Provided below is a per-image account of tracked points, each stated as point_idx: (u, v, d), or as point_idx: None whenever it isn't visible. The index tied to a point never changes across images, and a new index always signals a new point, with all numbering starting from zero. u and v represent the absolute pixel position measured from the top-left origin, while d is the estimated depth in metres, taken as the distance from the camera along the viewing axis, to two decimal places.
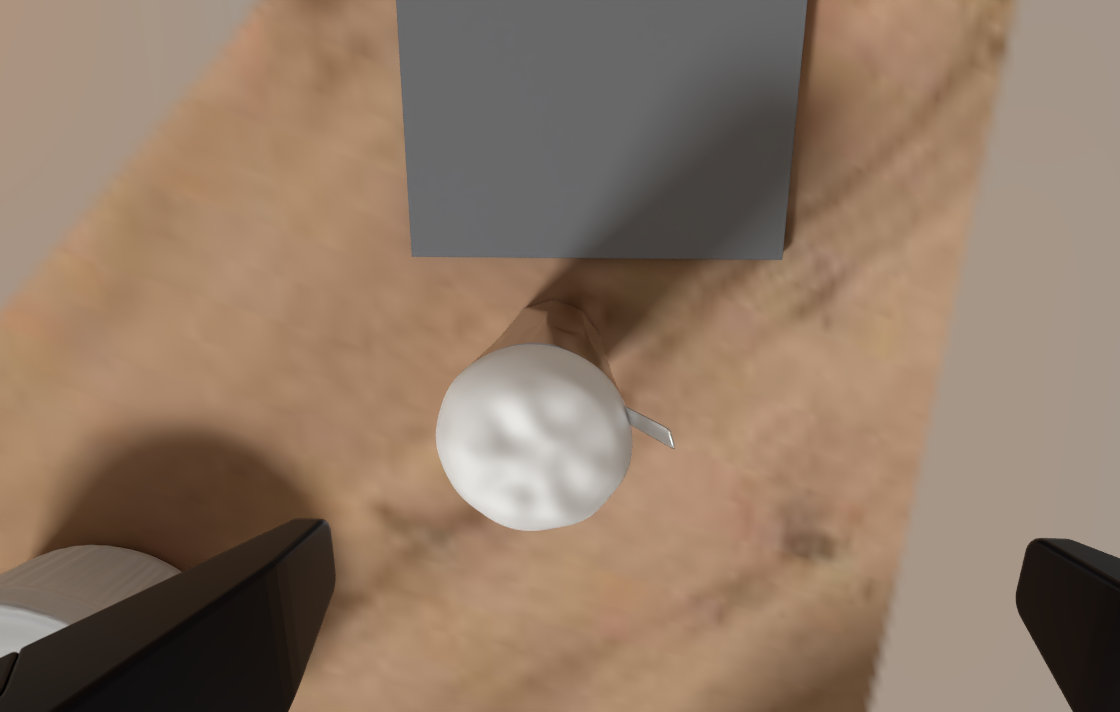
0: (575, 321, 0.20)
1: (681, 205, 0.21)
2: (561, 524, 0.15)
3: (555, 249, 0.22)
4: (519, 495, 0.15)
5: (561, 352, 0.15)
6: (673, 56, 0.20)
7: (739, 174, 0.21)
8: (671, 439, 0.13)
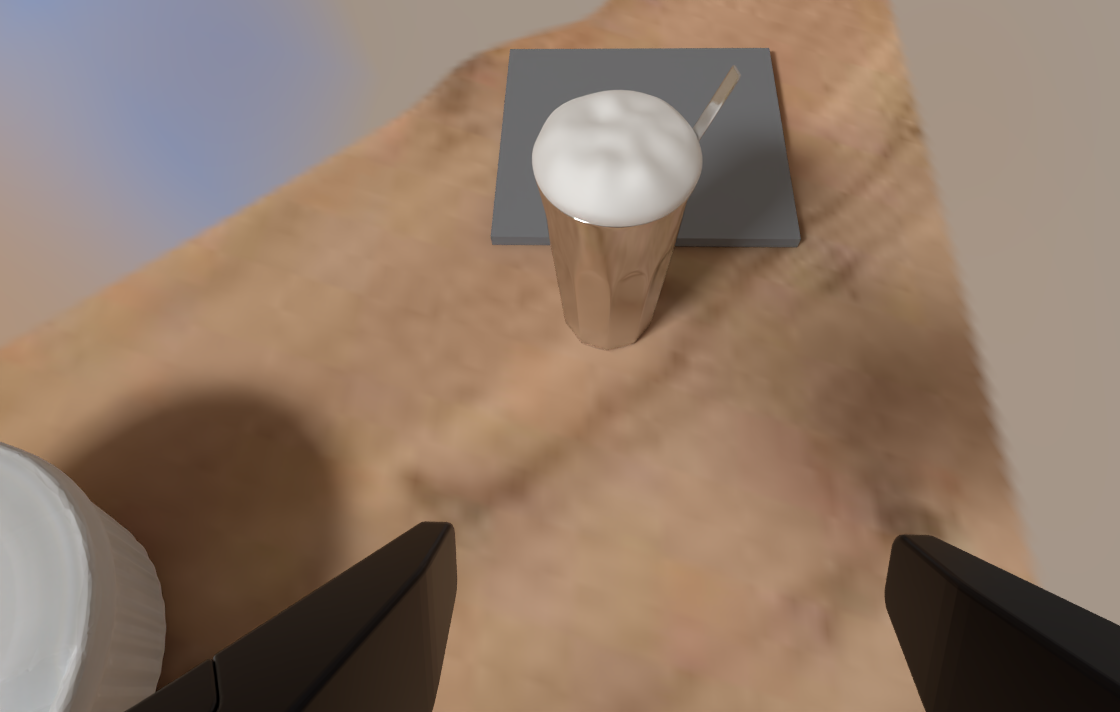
0: None
1: (710, 205, 0.27)
2: (645, 186, 0.17)
3: None
4: (608, 154, 0.17)
5: None
6: (693, 126, 0.29)
7: (752, 186, 0.27)
8: (736, 70, 0.17)
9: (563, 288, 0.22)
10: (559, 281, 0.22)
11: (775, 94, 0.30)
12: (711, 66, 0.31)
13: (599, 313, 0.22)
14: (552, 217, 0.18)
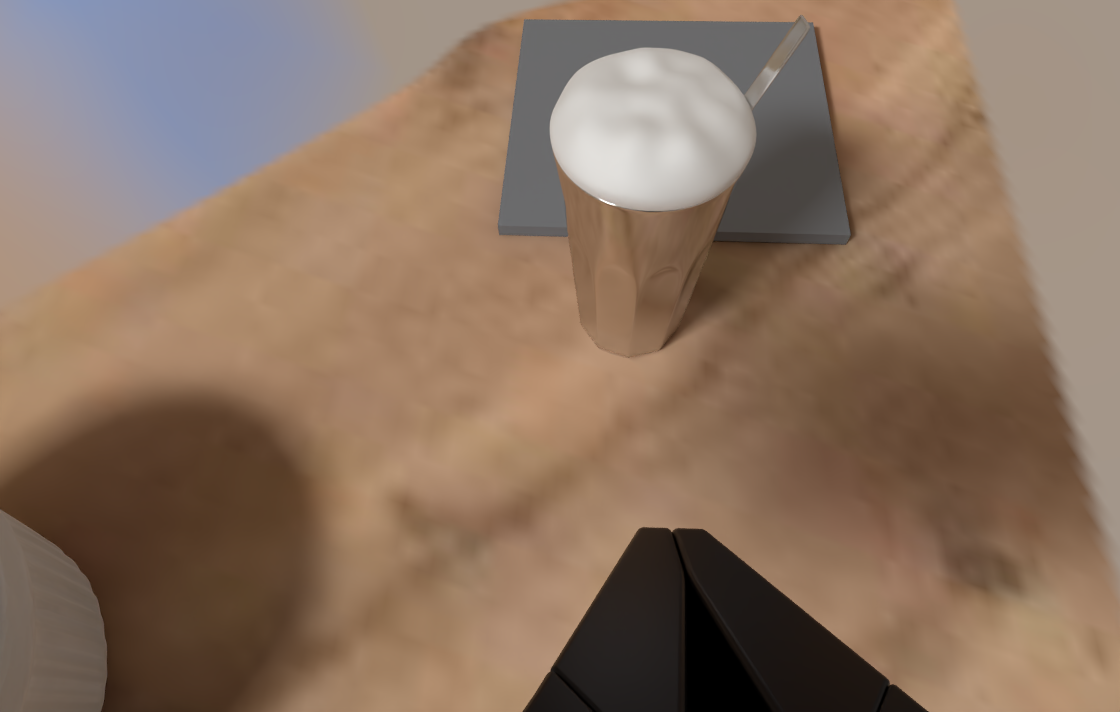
0: None
1: (747, 194, 0.24)
2: (689, 162, 0.13)
3: None
4: (644, 121, 0.14)
5: None
6: None
7: (795, 175, 0.24)
8: (805, 21, 0.14)
9: (580, 285, 0.19)
10: (576, 277, 0.19)
11: (820, 73, 0.26)
12: (748, 41, 0.27)
13: (621, 315, 0.19)
14: (572, 199, 0.15)
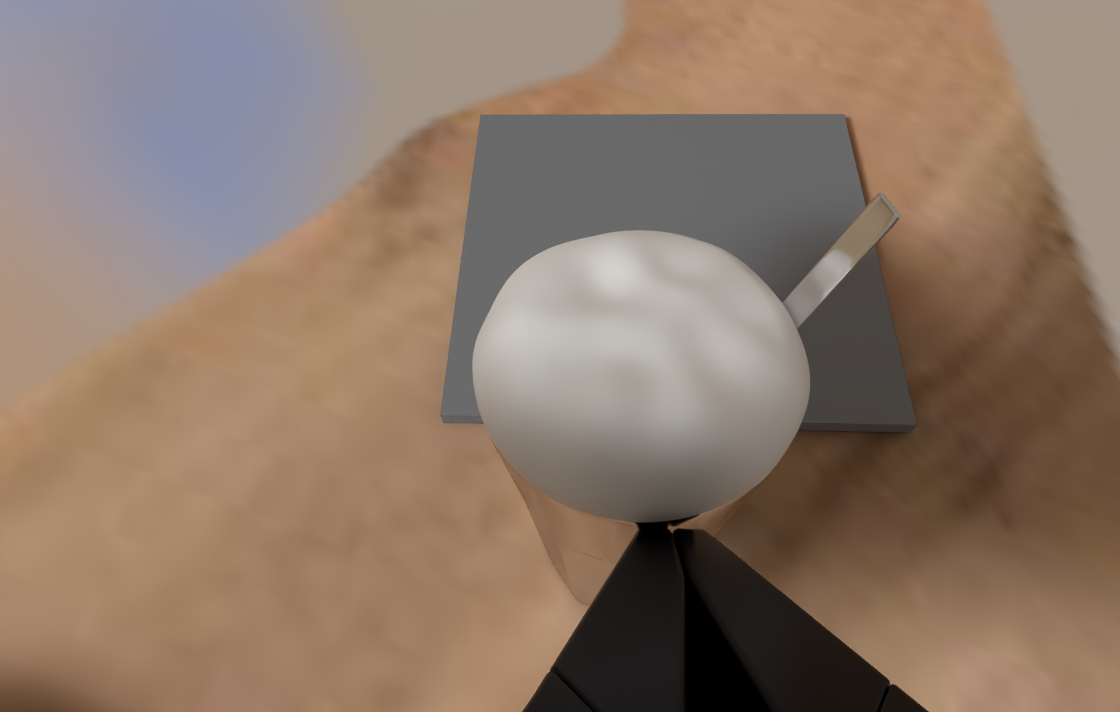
0: None
1: None
2: (704, 451, 0.08)
3: None
4: (622, 376, 0.08)
5: None
6: (741, 233, 0.20)
7: (836, 333, 0.18)
8: (889, 203, 0.08)
9: (544, 539, 0.13)
10: (538, 528, 0.13)
11: (858, 184, 0.21)
12: (764, 141, 0.22)
13: None
14: (512, 475, 0.09)
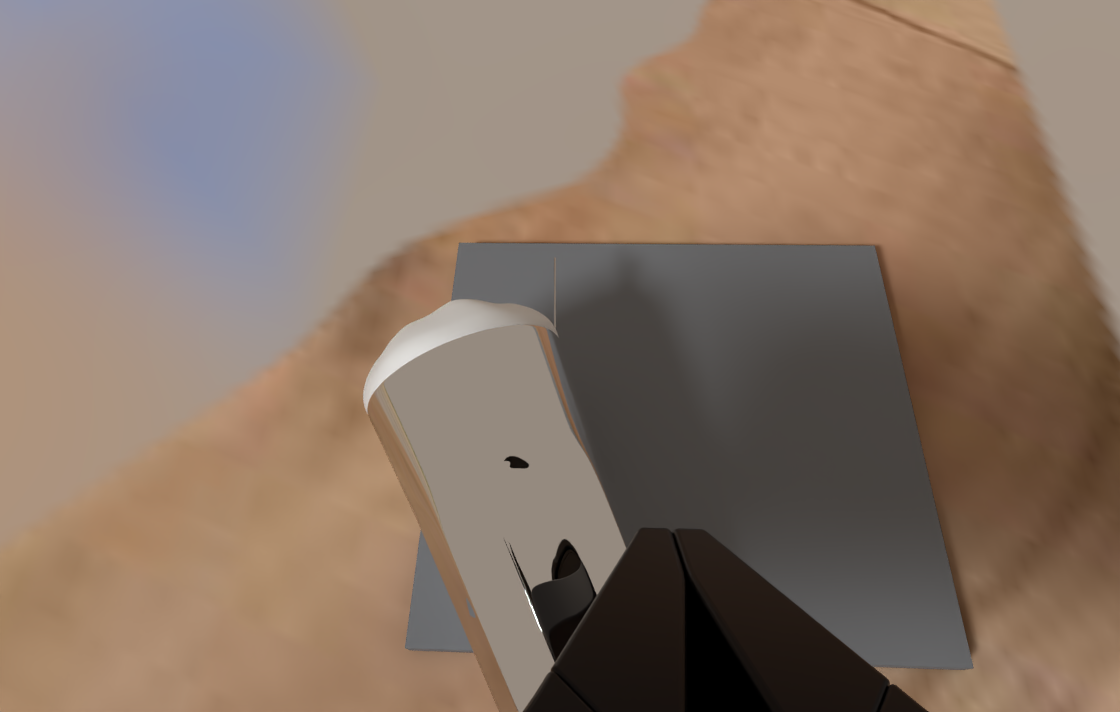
0: None
1: (801, 580, 0.15)
2: (451, 304, 0.14)
3: None
4: None
5: None
6: (760, 402, 0.17)
7: (873, 539, 0.15)
8: (554, 261, 0.17)
9: (471, 632, 0.13)
10: (464, 624, 0.13)
11: (894, 338, 0.18)
12: (783, 280, 0.19)
13: (517, 616, 0.12)
14: (381, 429, 0.14)
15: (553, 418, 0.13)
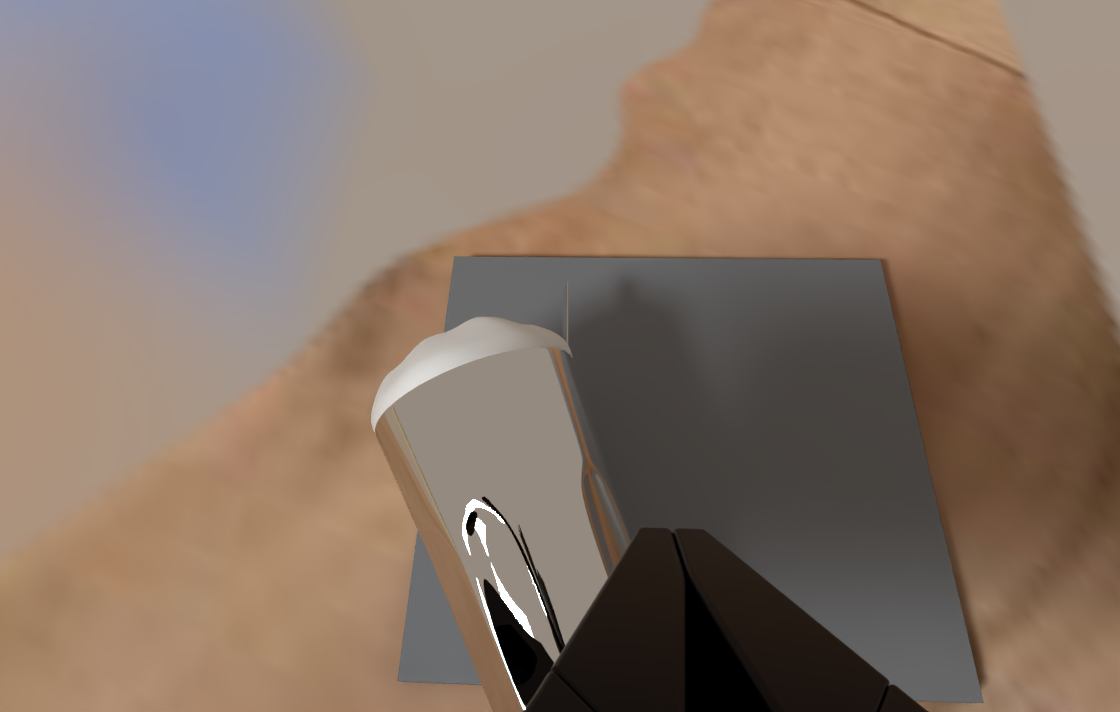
0: None
1: (806, 609, 0.15)
2: (478, 320, 0.13)
3: None
4: None
5: None
6: (762, 422, 0.17)
7: (880, 566, 0.15)
8: (565, 286, 0.16)
9: (482, 664, 0.12)
10: (473, 655, 0.12)
11: (900, 356, 0.17)
12: (786, 295, 0.18)
13: (542, 648, 0.11)
14: (394, 445, 0.13)
15: (578, 444, 0.13)
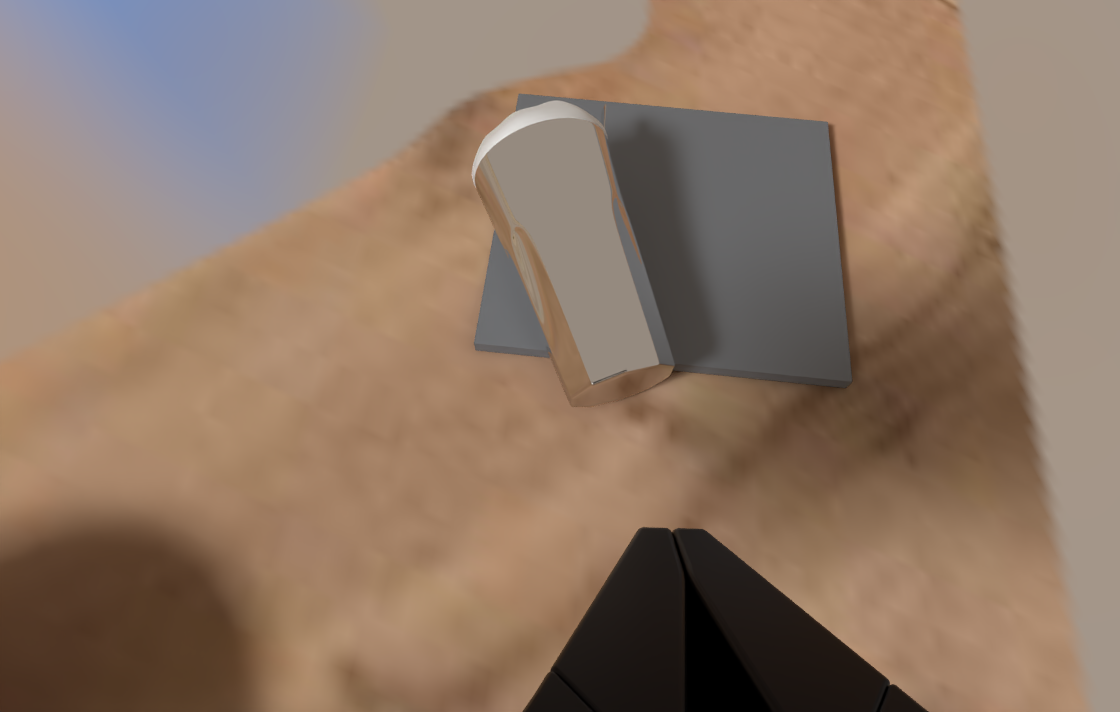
0: None
1: (745, 324, 0.22)
2: (552, 101, 0.20)
3: None
4: None
5: None
6: (730, 216, 0.24)
7: (798, 304, 0.22)
8: (603, 108, 0.24)
9: (541, 305, 0.19)
10: (535, 302, 0.20)
11: (831, 183, 0.25)
12: (757, 139, 0.25)
13: (582, 285, 0.19)
14: (493, 173, 0.20)
15: (611, 183, 0.20)
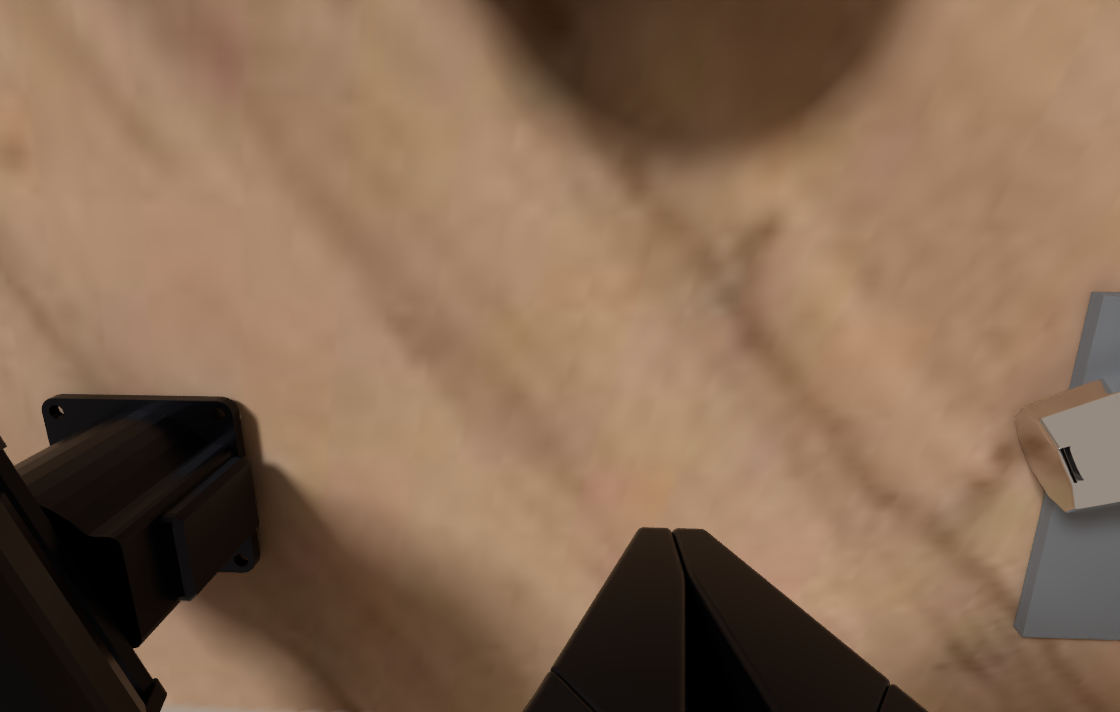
0: None
1: (1094, 554, 0.22)
2: None
3: None
4: None
5: None
6: None
7: (1111, 600, 0.23)
8: None
9: None
10: None
11: None
12: None
13: None
14: None
15: None
